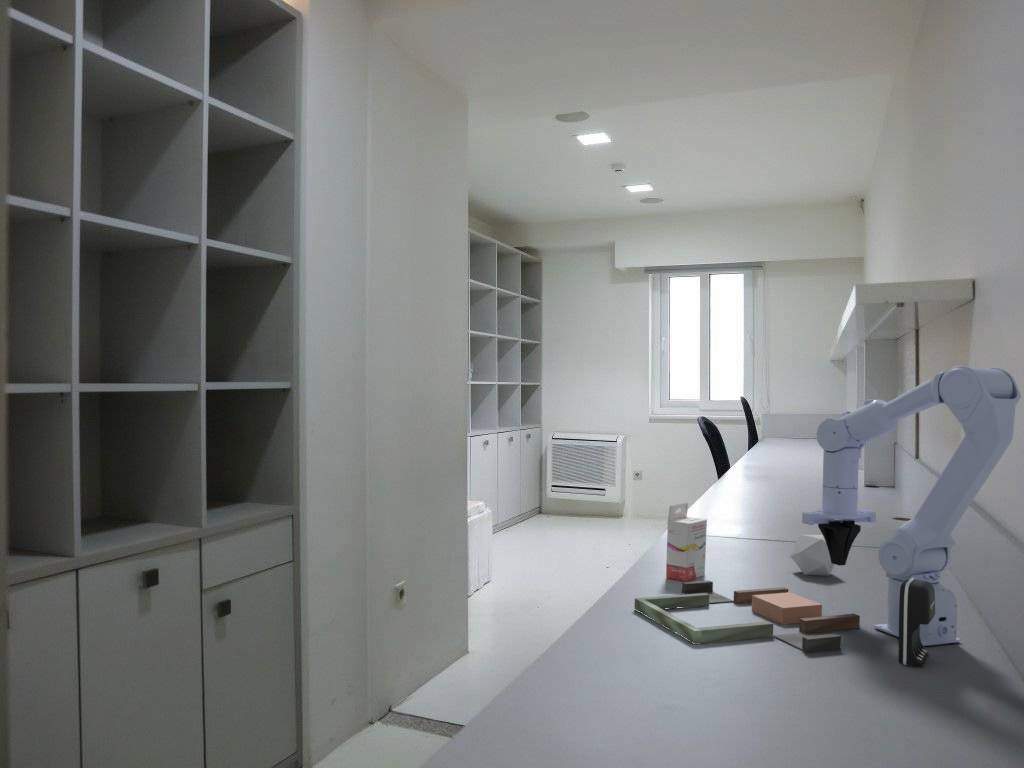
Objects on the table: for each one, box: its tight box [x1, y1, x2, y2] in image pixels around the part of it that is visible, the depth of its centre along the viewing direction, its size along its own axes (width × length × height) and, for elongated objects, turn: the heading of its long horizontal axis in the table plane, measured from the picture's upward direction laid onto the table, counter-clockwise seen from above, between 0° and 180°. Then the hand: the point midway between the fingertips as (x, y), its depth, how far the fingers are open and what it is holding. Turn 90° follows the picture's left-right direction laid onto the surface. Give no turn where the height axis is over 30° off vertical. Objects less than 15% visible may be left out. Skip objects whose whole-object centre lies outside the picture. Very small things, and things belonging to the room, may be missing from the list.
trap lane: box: [634, 580, 861, 654], centre depth 127 cm, size 34×31×2 cm
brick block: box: [751, 591, 823, 625], centre depth 130 cm, size 8×8×3 cm
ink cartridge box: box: [665, 502, 708, 582], centre depth 155 cm, size 9×5×15 cm, turn 141°
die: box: [790, 533, 836, 577], centre depth 161 cm, size 8×9×10 cm
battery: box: [897, 578, 935, 668], centre depth 108 cm, size 7×4×11 cm, turn 143°
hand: (838, 564), depth 133 cm, fingers closed
